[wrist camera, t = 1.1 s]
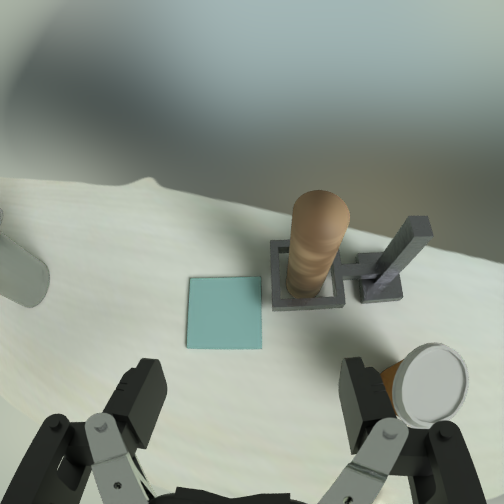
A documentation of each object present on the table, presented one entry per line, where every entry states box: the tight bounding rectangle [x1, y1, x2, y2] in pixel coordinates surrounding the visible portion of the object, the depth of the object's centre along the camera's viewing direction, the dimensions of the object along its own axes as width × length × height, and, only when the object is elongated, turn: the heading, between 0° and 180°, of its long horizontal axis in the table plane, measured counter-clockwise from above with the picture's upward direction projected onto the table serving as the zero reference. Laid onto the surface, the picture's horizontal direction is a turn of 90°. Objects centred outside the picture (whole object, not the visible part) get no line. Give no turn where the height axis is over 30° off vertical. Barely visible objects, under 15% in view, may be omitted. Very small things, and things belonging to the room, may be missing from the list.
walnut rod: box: [286, 190, 350, 299], centre depth 33 cm, size 5×5×18 cm
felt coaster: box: [187, 277, 262, 349], centre depth 40 cm, size 10×10×1 cm
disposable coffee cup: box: [380, 343, 469, 429], centre depth 29 cm, size 10×10×12 cm
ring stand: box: [270, 216, 433, 311], centre depth 34 cm, size 18×9×16 cm, turn 91°
